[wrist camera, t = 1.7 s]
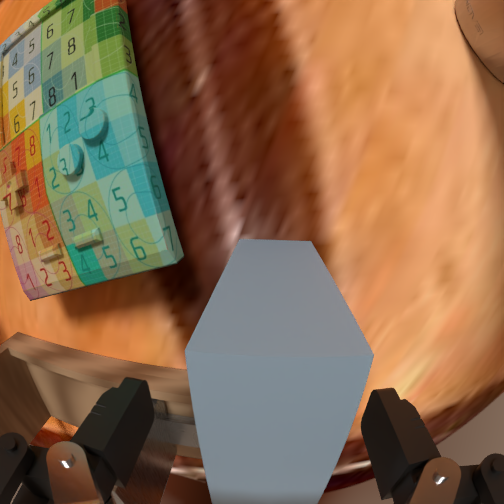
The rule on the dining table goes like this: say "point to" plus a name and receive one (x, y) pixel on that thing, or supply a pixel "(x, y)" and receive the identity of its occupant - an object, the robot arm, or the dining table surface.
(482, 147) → the dining table surface
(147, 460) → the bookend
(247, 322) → the pale blue block
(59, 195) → the puzzle game
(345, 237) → the dining table surface
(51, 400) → the shelf
